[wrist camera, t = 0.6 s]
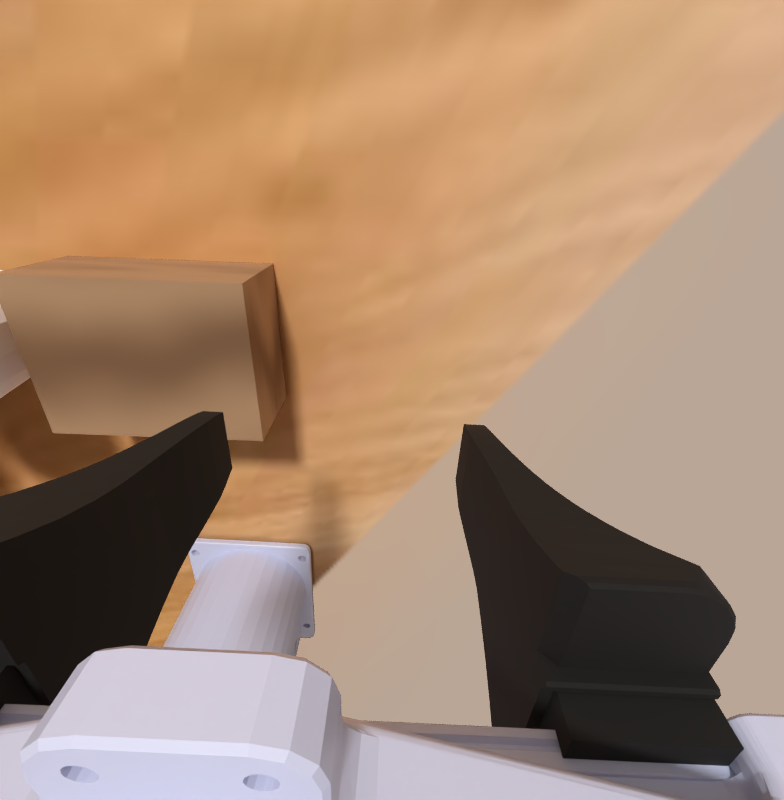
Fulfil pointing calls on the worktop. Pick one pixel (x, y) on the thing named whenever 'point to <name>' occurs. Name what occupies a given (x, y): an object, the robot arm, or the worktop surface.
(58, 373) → the tan wooden chunk
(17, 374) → the white cylinder
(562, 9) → the worktop surface
